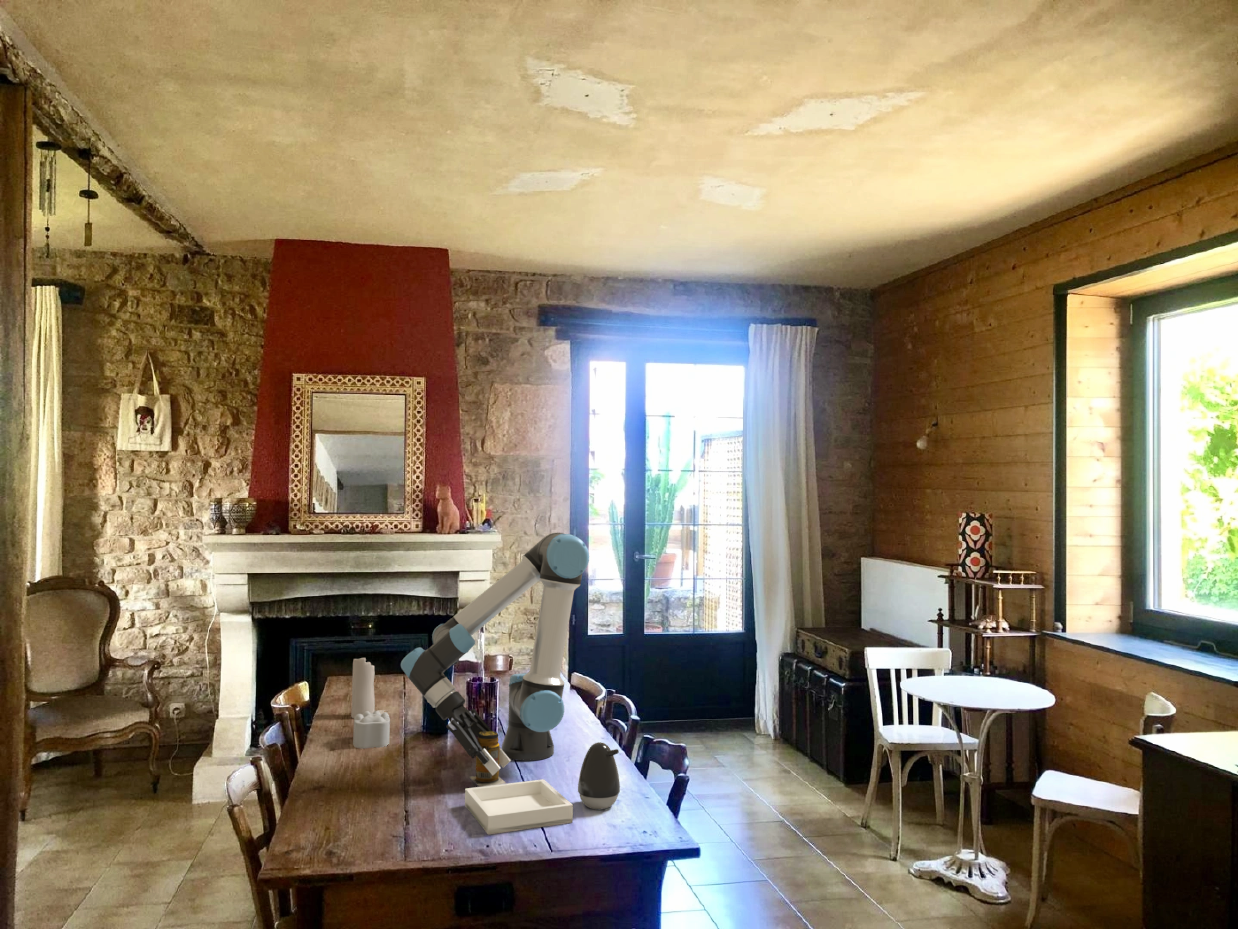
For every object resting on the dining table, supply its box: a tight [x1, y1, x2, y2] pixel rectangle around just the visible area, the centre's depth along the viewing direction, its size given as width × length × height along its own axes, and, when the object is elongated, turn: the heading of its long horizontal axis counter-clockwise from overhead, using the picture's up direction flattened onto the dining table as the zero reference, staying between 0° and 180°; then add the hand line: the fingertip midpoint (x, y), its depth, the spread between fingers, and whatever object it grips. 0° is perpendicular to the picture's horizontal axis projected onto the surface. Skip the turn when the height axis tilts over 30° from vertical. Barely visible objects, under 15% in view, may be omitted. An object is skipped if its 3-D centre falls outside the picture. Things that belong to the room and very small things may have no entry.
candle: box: [350, 657, 386, 719], centre depth 302 cm, size 7×14×20 cm, turn 148°
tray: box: [464, 779, 574, 836], centre depth 210 cm, size 20×20×4 cm
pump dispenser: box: [577, 742, 621, 810], centre depth 217 cm, size 10×10×15 cm
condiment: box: [469, 730, 507, 787], centre depth 231 cm, size 7×8×12 cm
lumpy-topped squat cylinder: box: [352, 710, 391, 749], centre depth 268 cm, size 10×13×9 cm
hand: (501, 768), depth 231 cm, fingers closed on condiment, 6 cm apart
